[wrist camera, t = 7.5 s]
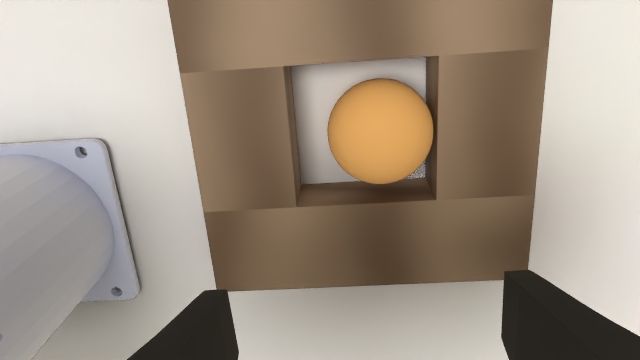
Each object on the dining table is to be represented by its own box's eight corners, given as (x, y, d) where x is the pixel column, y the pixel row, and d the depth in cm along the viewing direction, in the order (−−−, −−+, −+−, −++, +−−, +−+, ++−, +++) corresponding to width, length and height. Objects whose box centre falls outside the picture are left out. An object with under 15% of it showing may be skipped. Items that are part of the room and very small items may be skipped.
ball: (317, 174, 20) (355, 208, 17) (309, 79, 19) (349, 93, 15) (401, 158, 21) (454, 187, 18) (400, 68, 20) (456, 79, 16)
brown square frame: (229, 262, 23) (217, 292, 20) (183, -36, 18) (160, -41, 16) (506, 249, 22) (526, 278, 20) (529, -64, 18) (559, -74, 15)
